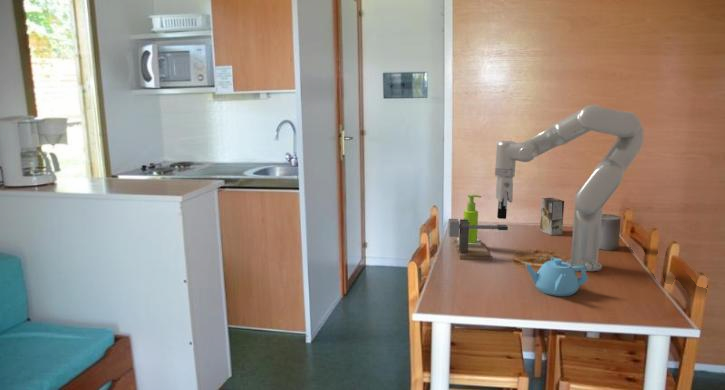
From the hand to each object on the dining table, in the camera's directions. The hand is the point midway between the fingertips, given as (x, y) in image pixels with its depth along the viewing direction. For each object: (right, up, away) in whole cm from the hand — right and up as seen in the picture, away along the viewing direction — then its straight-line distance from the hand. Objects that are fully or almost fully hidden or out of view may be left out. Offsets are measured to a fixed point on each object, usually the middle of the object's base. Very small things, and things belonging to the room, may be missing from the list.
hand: (501, 218), depth 214 cm
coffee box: (+34, -9, +40) cm, 53 cm away
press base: (-10, -14, +10) cm, 20 cm away
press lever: (-9, -7, +2) cm, 12 cm away
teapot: (+9, -23, -34) cm, 42 cm away
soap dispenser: (-9, -11, +15) cm, 21 cm away
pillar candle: (+48, -13, +16) cm, 53 cm away
